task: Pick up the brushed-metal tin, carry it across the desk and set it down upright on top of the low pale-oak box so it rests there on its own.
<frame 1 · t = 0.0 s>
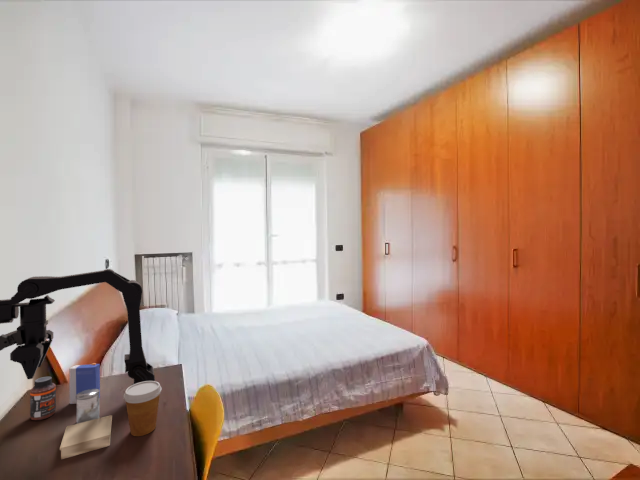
hand: (34, 372, 94), 15 cm above the table, fingers open, 9 cm apart
disposable coffee cup: (143, 430, 91), on the table
tin: (88, 420, 95), on the table
supplement bottle: (43, 416, 98), on the table
oak box: (88, 441, 85), on the table
walkman: (85, 401, 106), on the table
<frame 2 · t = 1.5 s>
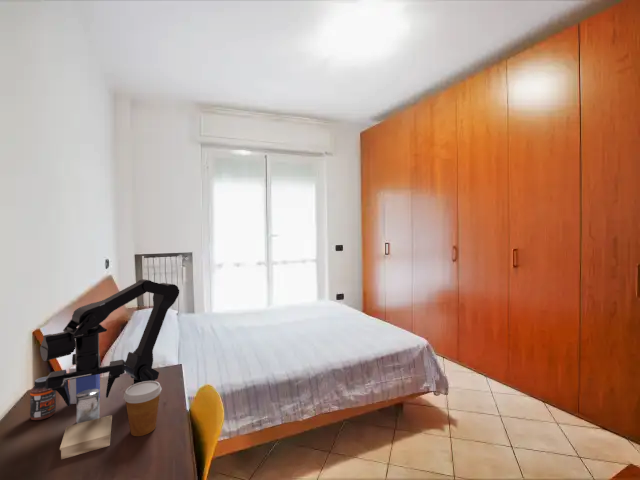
hand: (88, 401, 95), 6 cm above the table, fingers open, 9 cm apart
nothing on the table moved.
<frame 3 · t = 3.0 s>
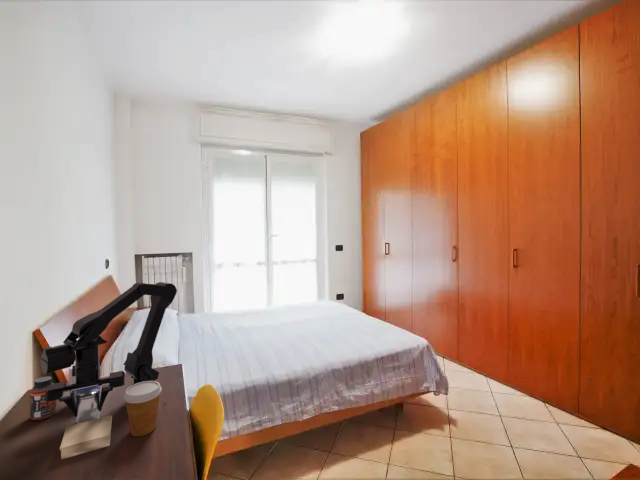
hand: (88, 413, 95), 2 cm above the table, fingers closed on tin, 5 cm apart
tin: (88, 420, 95), on the table, touching gripper
everything else where it was.
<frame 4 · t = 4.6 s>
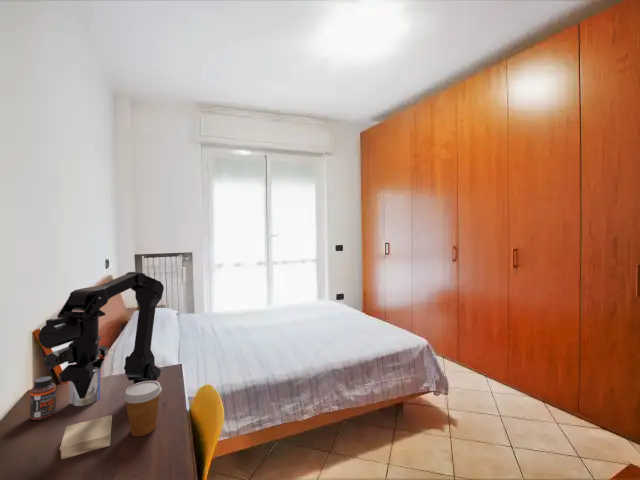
hand: (86, 393, 87), 12 cm above the table, fingers closed on tin, 5 cm apart
tin: (85, 400, 87), point 10 cm above the table, touching gripper
everything else where it was.
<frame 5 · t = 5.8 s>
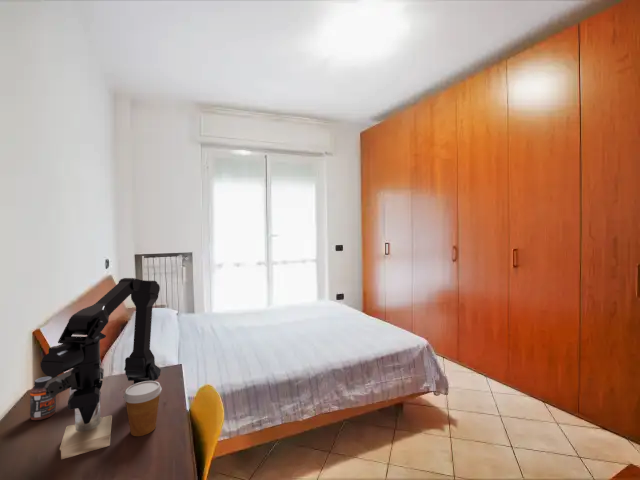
hand: (88, 417, 85), 6 cm above the table, fingers closed on tin, 5 cm apart
tin: (88, 425, 85), point 4 cm above the table, touching gripper
everything else where it was.
when the fingers open (6 cm above the table, at t = 6.7 s): tin stays where it is, resting on oak box.
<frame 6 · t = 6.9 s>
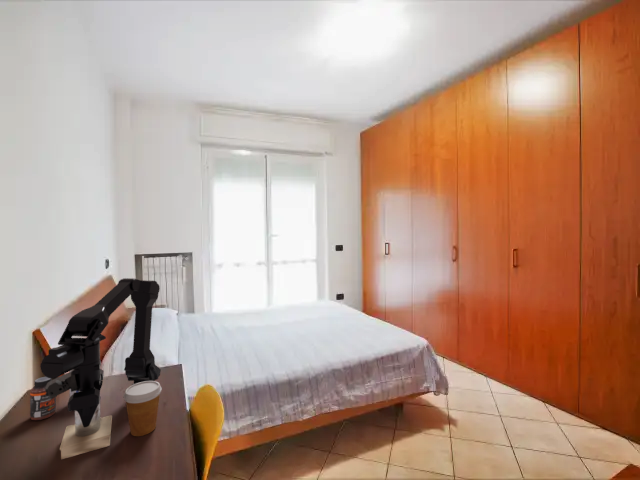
hand: (88, 419, 85), 6 cm above the table, fingers open, 7 cm apart
tin: (88, 430, 85), point 3 cm above the table, touching oak box
everything else where it was.
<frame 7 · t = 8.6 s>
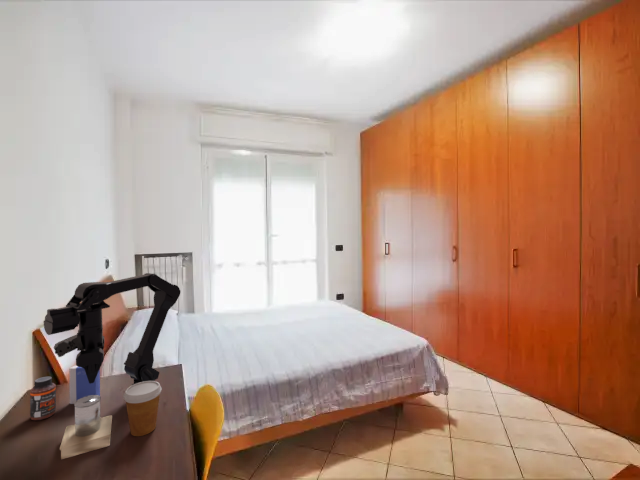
hand: (92, 377, 95), 13 cm above the table, fingers open, 9 cm apart
nothing on the table moved.
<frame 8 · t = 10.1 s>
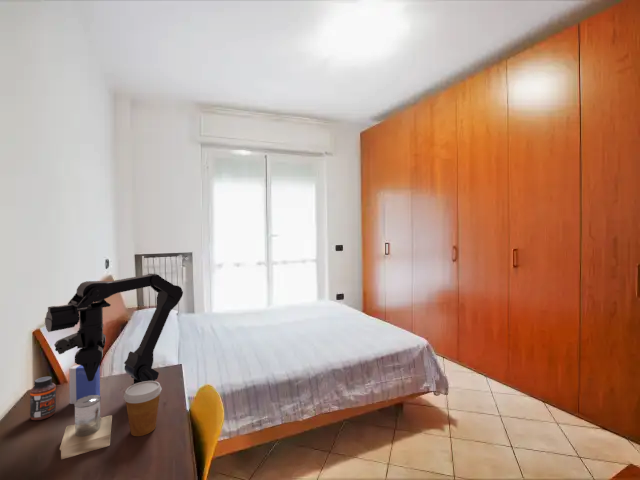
hand: (92, 374, 96), 13 cm above the table, fingers open, 9 cm apart
nothing on the table moved.
at the end: tin inside the target area on the oak box (0.1 cm from its centre), point 3.0 cm above the oak box's base; tin tilted 0°; the gripper is holding nothing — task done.
